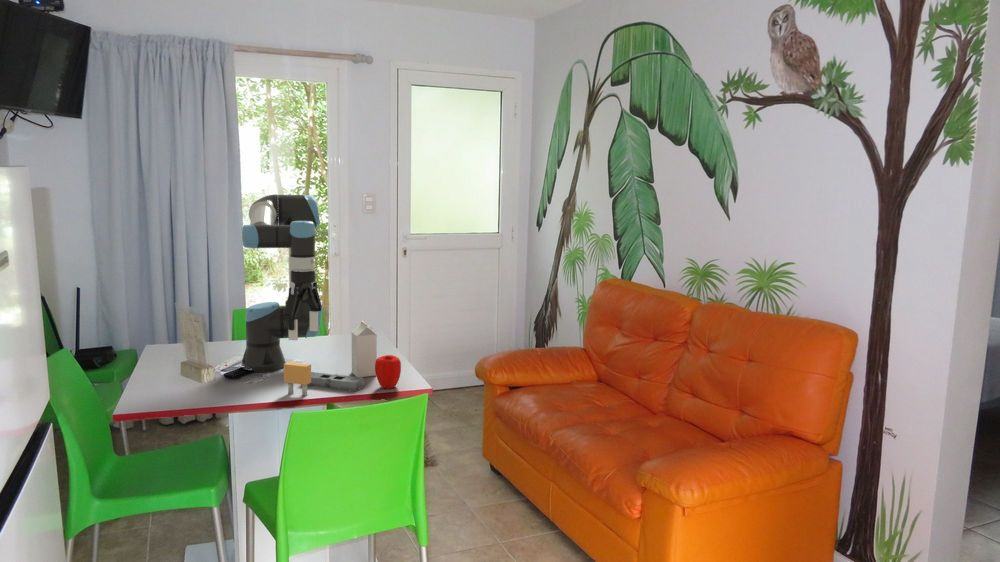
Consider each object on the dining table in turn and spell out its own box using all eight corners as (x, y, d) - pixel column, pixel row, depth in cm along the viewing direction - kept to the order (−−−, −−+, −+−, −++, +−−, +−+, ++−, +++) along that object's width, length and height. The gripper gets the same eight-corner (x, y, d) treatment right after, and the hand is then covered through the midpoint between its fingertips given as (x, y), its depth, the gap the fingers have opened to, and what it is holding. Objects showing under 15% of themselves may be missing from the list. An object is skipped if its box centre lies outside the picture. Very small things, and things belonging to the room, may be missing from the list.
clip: (284, 394, 229) (283, 364, 228) (289, 391, 232) (288, 361, 231) (306, 396, 227) (306, 366, 226) (311, 394, 230) (310, 364, 229)
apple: (377, 382, 245) (377, 352, 243) (402, 383, 244) (403, 353, 243) (372, 390, 236) (372, 358, 234) (398, 391, 236) (398, 359, 234)
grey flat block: (301, 385, 239) (301, 376, 239) (310, 380, 245) (310, 371, 245) (355, 391, 235) (355, 382, 234) (363, 386, 240) (363, 377, 240)
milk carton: (357, 378, 249) (357, 325, 247) (351, 372, 256) (351, 321, 253) (376, 375, 253) (376, 323, 250) (370, 370, 259) (370, 319, 256)
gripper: (293, 275, 212) (294, 344, 216) (331, 265, 237) (332, 328, 240) (271, 274, 214) (272, 342, 217) (311, 264, 238) (311, 326, 241)
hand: (303, 335), depth 229 cm, fingers open, 13 cm apart
